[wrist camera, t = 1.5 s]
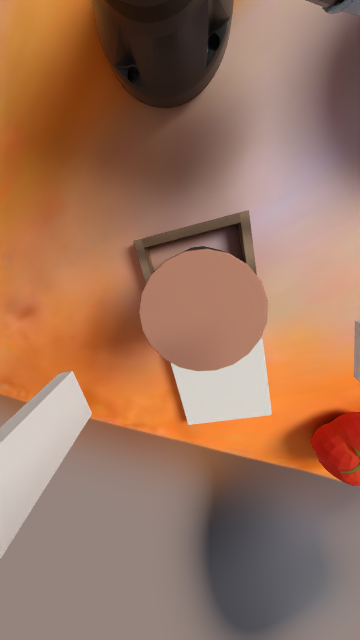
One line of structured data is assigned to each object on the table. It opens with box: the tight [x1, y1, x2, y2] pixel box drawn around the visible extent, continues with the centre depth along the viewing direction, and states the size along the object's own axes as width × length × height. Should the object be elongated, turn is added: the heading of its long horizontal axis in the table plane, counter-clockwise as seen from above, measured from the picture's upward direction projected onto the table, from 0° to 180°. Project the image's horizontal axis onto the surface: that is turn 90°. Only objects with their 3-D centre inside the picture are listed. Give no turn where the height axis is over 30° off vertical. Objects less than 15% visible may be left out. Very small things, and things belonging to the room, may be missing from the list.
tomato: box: [311, 412, 360, 486], centre depth 38 cm, size 14×13×9 cm
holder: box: [134, 210, 257, 283], centre depth 33 cm, size 16×16×2 cm
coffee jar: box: [139, 246, 268, 371], centre depth 26 cm, size 11×11×18 cm
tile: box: [171, 337, 272, 425], centre depth 39 cm, size 16×16×2 cm
